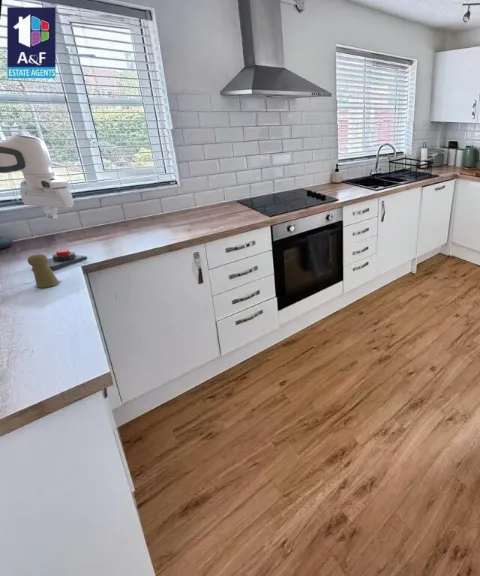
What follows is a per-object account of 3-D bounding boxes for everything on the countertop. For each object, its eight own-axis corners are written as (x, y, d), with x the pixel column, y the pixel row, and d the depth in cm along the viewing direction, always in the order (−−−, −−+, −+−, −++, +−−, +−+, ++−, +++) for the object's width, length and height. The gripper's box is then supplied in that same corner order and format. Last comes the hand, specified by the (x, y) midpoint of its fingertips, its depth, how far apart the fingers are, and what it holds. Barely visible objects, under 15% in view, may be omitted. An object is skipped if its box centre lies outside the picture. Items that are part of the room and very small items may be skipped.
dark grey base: (54, 274, 142) (50, 261, 140) (33, 271, 144) (29, 259, 142) (88, 263, 155) (85, 251, 153) (68, 260, 156) (65, 249, 155)
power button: (62, 256, 147) (61, 252, 146) (54, 256, 148) (53, 251, 147) (72, 254, 151) (71, 250, 150) (64, 253, 151) (63, 249, 151)
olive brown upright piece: (46, 288, 129) (34, 259, 124) (32, 287, 130) (19, 257, 125) (63, 281, 134) (51, 253, 130) (49, 280, 135) (37, 252, 131)
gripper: (10, 180, 137) (22, 217, 143) (54, 183, 134) (66, 221, 139) (28, 179, 143) (39, 214, 148) (71, 182, 139) (81, 218, 145)
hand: (52, 218), depth 144 cm, fingers closed
